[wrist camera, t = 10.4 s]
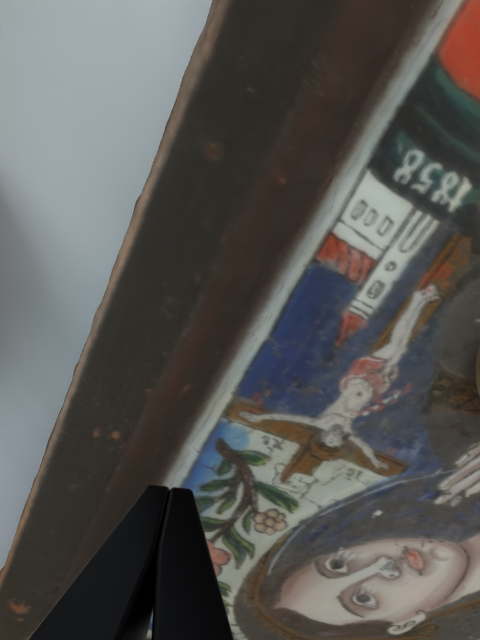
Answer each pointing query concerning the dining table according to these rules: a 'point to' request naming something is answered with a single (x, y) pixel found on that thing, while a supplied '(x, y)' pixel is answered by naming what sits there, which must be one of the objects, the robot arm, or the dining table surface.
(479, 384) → the birch pin
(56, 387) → the dining table surface
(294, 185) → the religious icon
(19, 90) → the dining table surface
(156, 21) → the dining table surface
